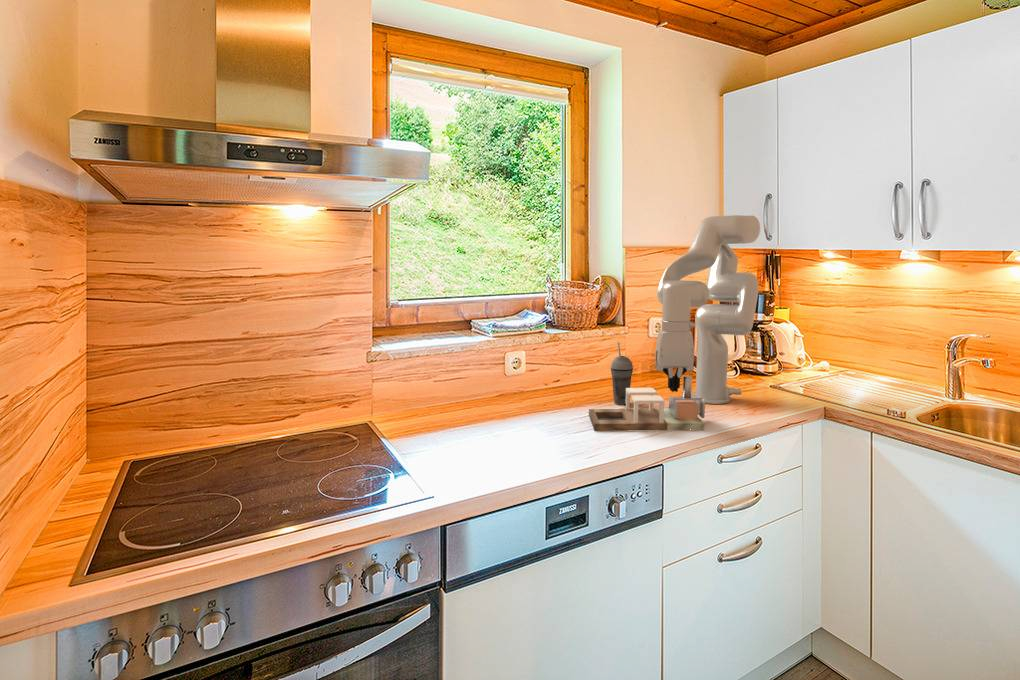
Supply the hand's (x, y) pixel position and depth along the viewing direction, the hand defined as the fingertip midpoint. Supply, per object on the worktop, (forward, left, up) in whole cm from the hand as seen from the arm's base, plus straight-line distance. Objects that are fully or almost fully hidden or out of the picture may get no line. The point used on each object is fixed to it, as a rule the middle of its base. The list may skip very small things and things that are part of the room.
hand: (673, 390), depth 159 cm
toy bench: (+8, 0, -7) cm, 11 cm away
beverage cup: (+11, -21, -10) cm, 26 cm away
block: (-3, 0, -8) cm, 8 cm away
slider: (-4, 0, -7) cm, 8 cm away
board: (+8, 0, -10) cm, 13 cm away
